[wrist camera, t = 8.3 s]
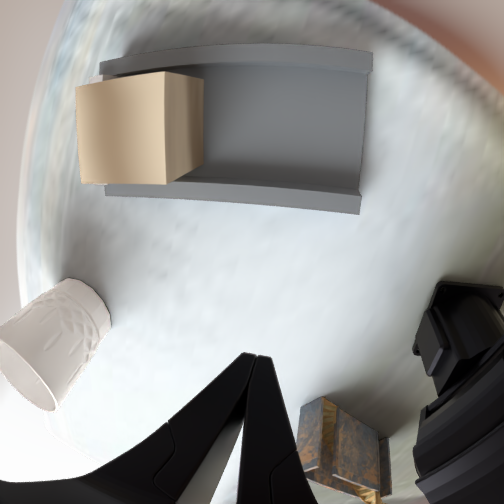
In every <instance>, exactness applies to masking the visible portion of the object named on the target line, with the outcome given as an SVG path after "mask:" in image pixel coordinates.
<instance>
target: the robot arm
mask: <svg viewBox="0 0 504 504" xmlns="http://www.w3.org/2000/svg"><path fill="white" fill-rule="evenodd" d="M443 287H444V289H443V290H441V291H440V289H441V288H443ZM500 293H501V294H500ZM499 294H500V295H499ZM503 300H504V288H503V287H500V286H489V285H478V284H468V283H457V282H447V281H441V282H439V283H438V284H437V285H436V287H435V290H434V293H433V295H432V298H431V301H430V304H429V307H428V308H427V309H426V311H425V312H424V315H423V318H422V321H421V323H420V326H419V328H418V331H417V333H416V336H415V338H416V340H415V343H414V345H413V348H412V350H413V353H414V355H417V356H421V357H422V361H423V364H424V368H425V371H426V374H427V375H428V376H429V377H431V376H432V377H433V381H434V384H435V388H436V391H437V395H438V398H437V399H436V400H435V401H434V402H432V403H431V404H430V405H427V406H426V407H424V408H423V409H422V410H421V414H420V422H419V429H418V436H417V442H416V445H415V446H414V447H413V457H414V463H415V468H416V471H417V474H418V476H419V479H417V480H416V481H415V484H416V485H417V487H418V488H419V489H420V490H421V491H422V492H423V493H424V494H425V496H426V498H427V500H428V501H429V503H430V504H504V316H503V315H502V313H501V312H500V310H499V309H500V307H501V305H502V303H503ZM417 349H419V350H417ZM243 422H244V426H243V436H242V446H241V456H240V466H239V476H238V486H237V495H236V504H318V503H317V501H316V499H315V497H314V495H313V492H312V490H311V488H310V485H309V483H308V481H307V478H306V475H305V472H304V469H303V466H302V463H301V460H300V456H299V453H298V451H297V446H296V443H295V439H294V436H293V432H292V429H291V425H290V421H289V418H288V414H287V411H286V407H285V404H284V400H283V396H282V393H281V389H280V386H279V382H278V378H277V375H276V371H275V368H274V364H273V360H272V358H271V357H268V356H263V355H258V356H256V354H252V353H246V352H243V353H241V354H240V355H239V356H238V357H237V358H236V359H235V360H234V361H233V362H232V363H231V364H230V365H229V366H228V367H227V368H226V369H225V370H223V371H222V372H221V373H220V374H219V375H218V376H217V377H216V378H215V379H214V380H213V381H212V382H211V383H209V384H208V385H207V386H206V387H205V388H204V389H203V390H202V391H201V392H200V393H198V394H197V395H196V396H195V397H194V398H193V399H192V400H191V401H190V402H188V403H187V404H186V405H185V406H184V407H183V408H182V409H181V410H179V411H178V412H177V413H176V414H175V415H174V416H173V417H171V418H170V419H169V420H168V423H167V422H166V423H164V424H163V425H162V426H161V427H160V428H159V429H157V430H156V431H155V432H154V433H152V434H151V435H150V436H149V437H147V438H146V439H145V440H143V441H142V442H140V443H139V444H137V445H136V446H134V447H133V448H131V449H130V450H128V451H127V452H125V453H123V454H122V455H120V456H118V457H117V458H115V459H113V460H112V461H110V462H108V463H107V464H105V465H103V466H101V467H100V468H98V469H96V470H94V471H93V472H91V473H88V474H86V475H83V476H80V477H76V478H71V479H62V480H51V481H38V482H6V481H2V480H0V504H210V502H211V499H212V497H213V495H214V493H215V490H216V488H217V486H218V483H219V481H220V479H221V476H222V474H223V472H224V469H225V467H226V465H227V462H228V460H229V457H230V455H231V453H232V450H233V448H234V445H235V443H236V440H237V438H238V436H239V433H240V431H241V428H242V425H243Z"/></svg>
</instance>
